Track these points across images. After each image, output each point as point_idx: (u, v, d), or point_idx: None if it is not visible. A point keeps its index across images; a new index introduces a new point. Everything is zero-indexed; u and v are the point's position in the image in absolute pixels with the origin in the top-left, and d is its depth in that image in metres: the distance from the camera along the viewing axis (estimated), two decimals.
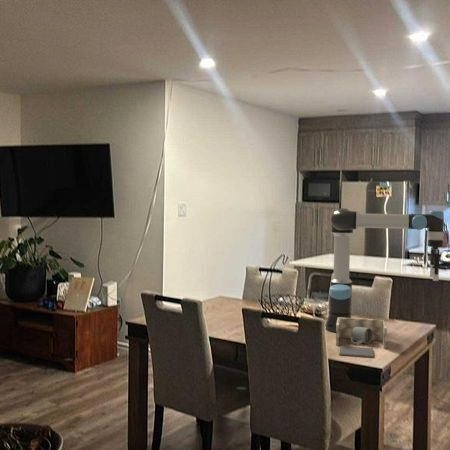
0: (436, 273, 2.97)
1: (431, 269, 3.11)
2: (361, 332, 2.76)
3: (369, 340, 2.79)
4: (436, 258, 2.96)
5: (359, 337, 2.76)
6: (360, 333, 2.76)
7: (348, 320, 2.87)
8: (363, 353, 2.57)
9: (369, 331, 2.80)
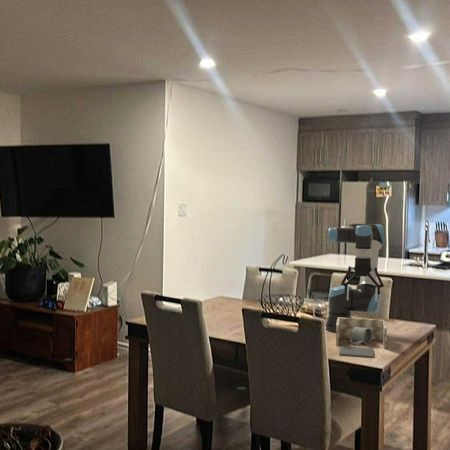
0: (344, 291, 2.79)
1: None
2: (360, 332, 2.75)
3: (368, 340, 2.78)
4: (345, 275, 2.79)
5: (358, 337, 2.76)
6: (359, 333, 2.75)
7: (348, 320, 2.87)
8: (363, 353, 2.57)
9: (368, 331, 2.79)
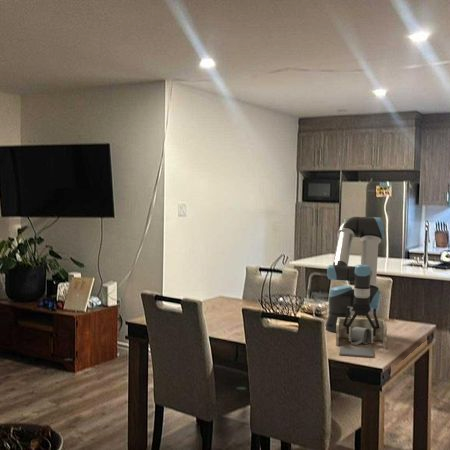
0: None
1: (371, 333, 2.78)
2: (360, 332, 2.75)
3: (368, 340, 2.78)
4: (345, 316, 2.80)
5: (358, 337, 2.75)
6: (359, 333, 2.75)
7: (348, 320, 2.87)
8: (363, 353, 2.57)
9: (368, 331, 2.79)
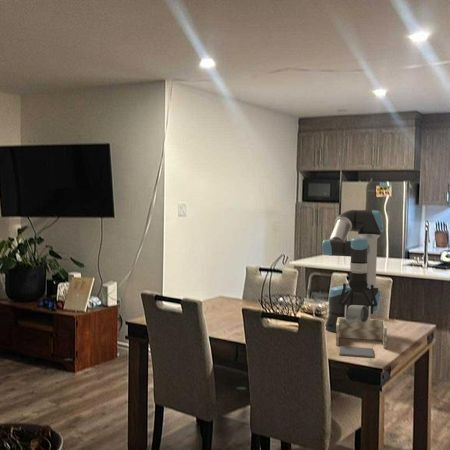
0: (342, 310, 2.62)
1: None
2: (356, 310, 2.57)
3: (365, 319, 2.60)
4: (341, 293, 2.62)
5: (354, 315, 2.57)
6: (355, 311, 2.57)
7: None
8: (363, 353, 2.57)
9: (365, 309, 2.61)
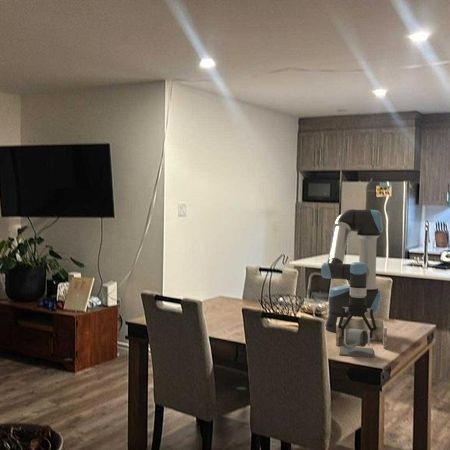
0: None
1: None
2: (356, 334, 2.57)
3: (364, 343, 2.60)
4: None
5: (354, 340, 2.57)
6: (355, 335, 2.57)
7: None
8: (363, 353, 2.57)
9: (364, 333, 2.61)
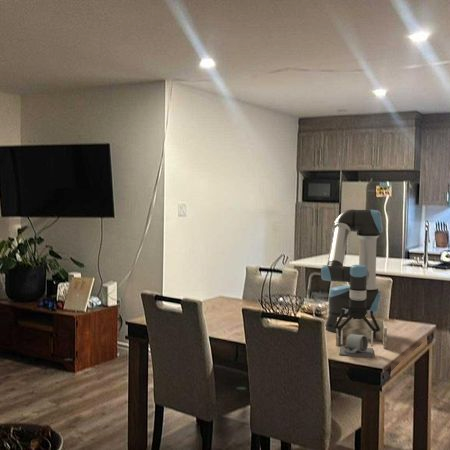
0: (338, 334, 2.62)
1: None
2: (356, 339, 2.58)
3: (364, 348, 2.60)
4: (339, 317, 2.62)
5: (354, 345, 2.58)
6: (355, 341, 2.58)
7: None
8: (363, 353, 2.57)
9: (364, 339, 2.61)
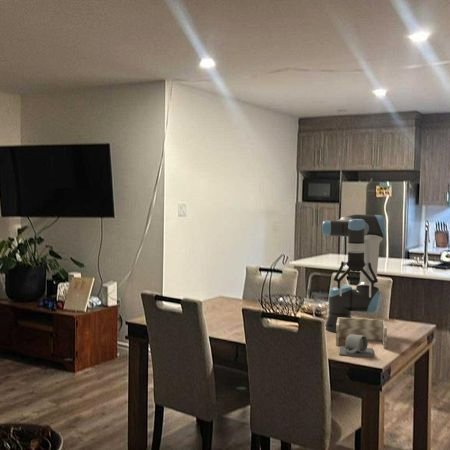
0: (337, 287, 2.70)
1: (369, 287, 2.68)
2: (355, 340, 2.57)
3: (364, 349, 2.60)
4: (338, 270, 2.70)
5: (353, 345, 2.57)
6: (354, 341, 2.57)
7: (348, 320, 2.87)
8: (363, 353, 2.57)
9: (364, 339, 2.61)
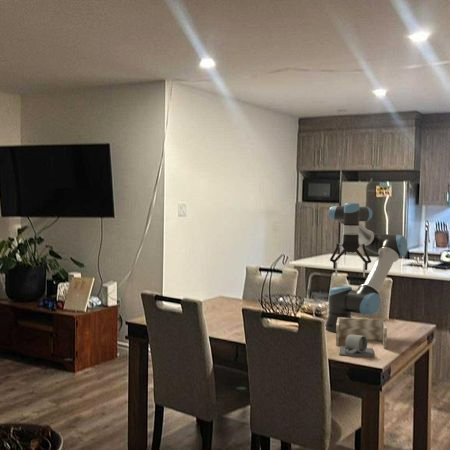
0: (333, 267, 2.86)
1: None
2: (355, 340, 2.57)
3: (364, 349, 2.60)
4: (334, 251, 2.86)
5: (353, 346, 2.57)
6: (354, 341, 2.57)
7: (348, 320, 2.87)
8: (363, 353, 2.57)
9: (364, 339, 2.61)
